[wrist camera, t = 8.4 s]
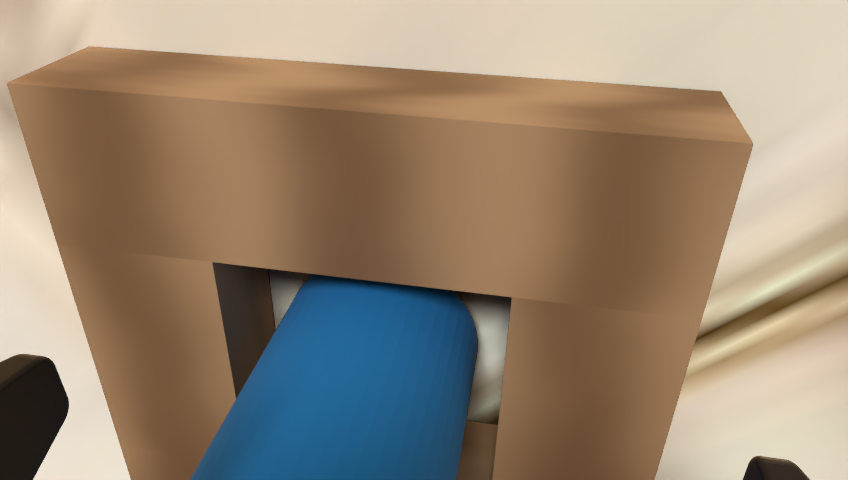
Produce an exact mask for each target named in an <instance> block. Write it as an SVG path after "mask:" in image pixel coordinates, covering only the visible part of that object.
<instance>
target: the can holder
mask: <svg viewBox="0 0 848 480" xmlns="http://www.w3.org/2000/svg"><path fill="white" fill-rule="evenodd" d="M7 86H8V89H9V92H10V95H11V98H12V101H13V105H14V108H15V111H16V114H17V117H18V121H19V124H20V127H21V130H22V133H23V137H24V140H25V143H26V146H27V149H28V152H29V156H30V159H31V162H32V165H33V168H34V172H35V175H36V178H37V181H38V184H39V188H40V191H41V194H42V197H43V200H44V203H45V207H46V210H47V213H48V216H49V219H50V223H51V226H52V229H53V232H54V235H55V239H56V242H57V245H58V248H59V251H60V254H61V258H62V261H63V264H64V267H65V270H66V274H67V277H68V280H69V283H70V286H71V290H72V293H73V296H74V299H75V302H76V305H77V309H78V312H79V315H80V318H81V321H82V325H83V328H84V331H85V334H86V337H87V341H88V344H89V347H90V350H91V353H92V356H93V360H94V363H95V366H96V369H97V372H98V376H99V379H100V382H101V385H102V388H103V392H104V395H105V398H106V401H107V404H108V407H109V411H110V414H111V417H112V420H113V423H114V427H115V430H116V433H117V436H118V439H119V443H120V446H121V449H122V452H123V455H124V458H125V462H126V465H127V468H128V471H129V474H130V478H131V480H190V479H191V477H192V475H193V473H194V472H195V470H196V468H197V467H198V465H199V463H200V461H201V460H202V458H203V456H204V454H205V453H206V451H207V449H208V447H209V446H210V444H211V442H212V440H213V439H214V437H215V435H216V434H217V432H218V430H219V428H220V427H221V425H222V423H223V421H224V420H225V418H226V416H227V414H228V413H229V411H230V409H231V408H232V406H233V404H234V402H235V401H236V399H237V397H238V395H239V394H240V392H241V390H242V388H243V387H244V385H245V383H246V381H247V380H248V378H249V376H250V375H251V373H252V371H253V369H254V368H255V366H256V364H257V362H258V361H259V359H260V357H261V355H262V354H263V352H264V350H265V348H266V347H267V345H268V343H269V342H270V340H271V338H272V336H273V335H274V333H275V324H274V316H273V308H272V300H271V292H270V284H269V275H268V269H275V270H283V271H292V272H300V273H309V274H318V275H326V276H335V277H343V278H352V279H360V280H369V281H377V282H386V283H394V284H403V285H411V286H420V287H428V288H437V289H446V290H454V291H463V292H471V293H480V294H488V295H497V296H505V297H512V300H511V309H510V318H509V328H508V337H507V347H506V356H505V365H504V375H503V384H502V394H501V403H500V412H499V422H498V425H494V424H487V423H480V422H473V421H466V425H465V431H464V437H463V443H462V450H461V456H460V462H459V468H458V474H457V480H654V479H655V476H656V472H657V469H658V466H659V462H660V459H661V455H662V452H663V449H664V445H665V442H666V438H667V435H668V432H669V428H670V425H671V421H672V418H673V415H674V411H675V408H676V404H677V401H678V398H679V394H680V391H681V387H682V384H683V381H684V377H685V374H686V371H687V367H688V364H689V360H690V357H691V354H692V350H693V347H694V343H695V340H696V337H697V333H698V330H699V326H700V323H701V320H702V316H703V313H704V309H705V306H706V303H707V299H708V296H709V292H710V289H711V286H712V282H713V279H714V276H715V272H716V269H717V265H718V262H719V259H720V255H721V252H722V248H723V245H724V242H725V238H726V235H727V231H728V228H729V225H730V221H731V218H732V214H733V211H734V208H735V204H736V201H737V197H738V194H739V191H740V187H741V184H742V181H743V177H744V174H745V170H746V167H747V164H748V160H749V157H750V153H751V150H752V147H753V142H752V141H751V139H750V137H749V136H748V134H747V133H746V131H745V129H744V128H743V126H742V125H741V123H740V121H739V120H738V118H737V117H736V115H735V113H734V112H733V110H732V109H731V107H730V105H729V104H728V102H727V101H726V99H725V97H724V96H723V94H722V93H721V92H719V91H705V90H691V89H677V88H663V87H649V86H635V85H621V84H607V83H593V82H579V81H565V80H551V79H537V78H523V77H509V76H495V75H481V74H467V73H453V72H438V71H424V70H410V69H396V68H382V67H368V66H354V65H340V64H326V63H312V62H298V61H284V60H270V59H256V58H242V57H228V56H214V55H200V54H186V53H172V52H158V51H144V50H129V49H115V48H101V47H87V48H85V49H82V50H80V51H78V52H76V53H73V54H71V55H69V56H67V57H64V58H62V59H60V60H58V61H55V62H53V63H51V64H49V65H46V66H44V67H42V68H40V69H37V70H35V71H33V72H31V73H28V74H26V75H24V76H22V77H19V78H17V79H15V80H13V81H10V82H8V83H7Z"/></svg>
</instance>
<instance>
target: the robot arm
mask: <svg viewBox="0 0 848 480" xmlns="http://www.w3.org/2000/svg"><path fill="white" fill-rule="evenodd" d="M68 409H69V400H68V397H67V394H66V392H65V389H64V387H63V384H62V382H61V379H60V377H59V374H58V372H57V369H56V367H55V365H54V363H53V361H51V360H50V359H49V358H47V357H43V356H36V355H29V354H19V355H15V356H13V357H10V358H8V359H6V360H4V361H2V362H0V480H33V478H34V476H35V475H36V473H37V471H38V469H39V467H40V465H41V463H42V462H43V460H44V458H45V456H46V454H47V452H48V450H49V449H50V447H51V445H52V443H53V441H54V439H55V437H56V436H57V434H58V432H59V430H60V428H61V426H62V424H63V423H64V421H65V419H66V416H67V413H68ZM743 480H810V479H809V478H808V477H807V476H806V475H805V474H804V472H803V471H802V470H801V469H800V468H799V467H798V466H797V465H796V464H794V463H793V462H791V461H789V460H784V459H777V458H770V457H763V456H756V457H754V458H752V459H751V461H750V462H749V464H748V467H747V470H746V472H745V475H744V478H743Z"/></svg>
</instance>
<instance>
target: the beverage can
mask: <svg viewBox="0 0 848 480" xmlns="http://www.w3.org/2000/svg"><path fill="white" fill-rule="evenodd" d="M477 351H478V340H477V333H476V328H475V325H474V322H473V319H472V317H471V315H470V313H469V311H468V309H467V307H466V306H465V304H464V303H463V302H462V300H461V299H460V298H459V297H458V295H457V294H456V293H455V292H454V291H453V290H446V289H437V288H428V287H420V286H411V285H403V284H394V283H386V282H377V281H369V280H360V279H352V278H343V277H335V276H326V275H318V274H313V275H312V276H311V277H309V278H308V279H307V280H306V281H305V283H304V284H303V285H302V286H301V288H300V289H299V291H298V293H297V295H296V296H295V298H294V300H293V302H292V303H291V305H290V307H289V309H288V310H287V312H286V314H285V315H284V317H283V319H282V321H281V322H280V324H279V326H278V328H277V329H276V331H275V333H274V335H273V336H272V338H271V340H270V342H269V343H268V345H267V347H266V348H265V350H264V352H263V354H262V355H261V357H260V359H259V361H258V362H257V364H256V366H255V368H254V369H253V371H252V373H251V375H250V376H249V378H248V380H247V381H246V383H245V385H244V387H243V388H242V390H241V392H240V394H239V395H238V397H237V399H236V401H235V402H234V404H233V406H232V408H231V409H230V411H229V413H228V414H227V416H226V418H225V420H224V421H223V423H222V425H221V427H220V428H219V430H218V432H217V434H216V435H215V437H214V439H213V440H212V442H211V444H210V446H209V447H208V449H207V451H206V453H205V454H204V456H203V458H202V460H201V461H200V463H199V465H198V467H197V468H196V470H195V472H194V473H193V475H192V477H191V479H190V480H457V474H458V468H459V462H460V456H461V450H462V443H463V437H464V431H465V425H466V419H467V413H468V407H469V400H470V394H471V388H472V382H473V376H474V370H475V363H476V357H477Z"/></svg>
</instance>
